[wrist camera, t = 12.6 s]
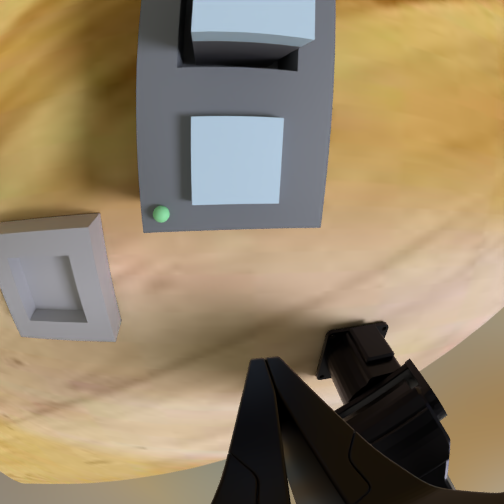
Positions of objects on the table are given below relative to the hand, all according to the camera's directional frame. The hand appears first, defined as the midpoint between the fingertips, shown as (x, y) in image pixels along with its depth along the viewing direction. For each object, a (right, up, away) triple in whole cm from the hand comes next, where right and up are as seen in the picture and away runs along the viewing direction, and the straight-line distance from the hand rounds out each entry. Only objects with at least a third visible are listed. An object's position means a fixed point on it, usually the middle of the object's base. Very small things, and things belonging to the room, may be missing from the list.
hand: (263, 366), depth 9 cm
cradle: (-15, +2, +11) cm, 19 cm away
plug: (-1, +16, +5) cm, 17 cm away
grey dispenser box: (-2, +13, +8) cm, 15 cm away
